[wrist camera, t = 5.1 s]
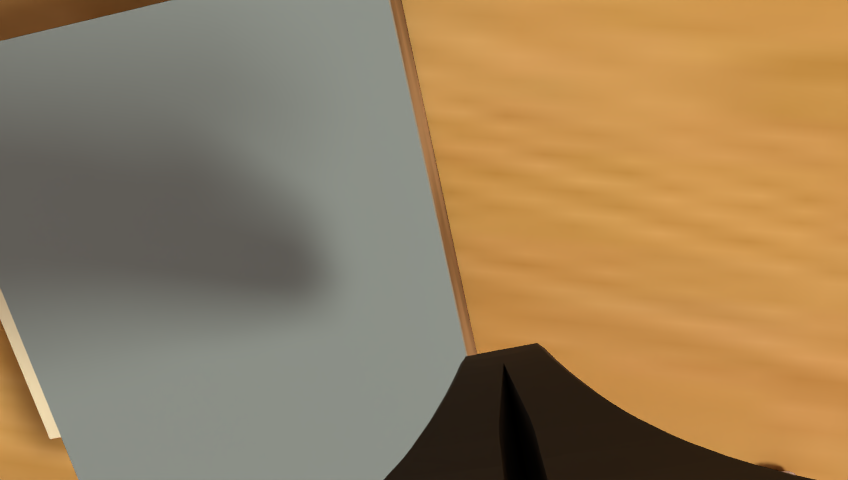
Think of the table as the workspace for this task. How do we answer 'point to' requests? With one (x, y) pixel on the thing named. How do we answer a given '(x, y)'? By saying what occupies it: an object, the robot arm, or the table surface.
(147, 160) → the lid
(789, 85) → the table surface
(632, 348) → the table surface
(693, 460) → the robot arm
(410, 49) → the box
